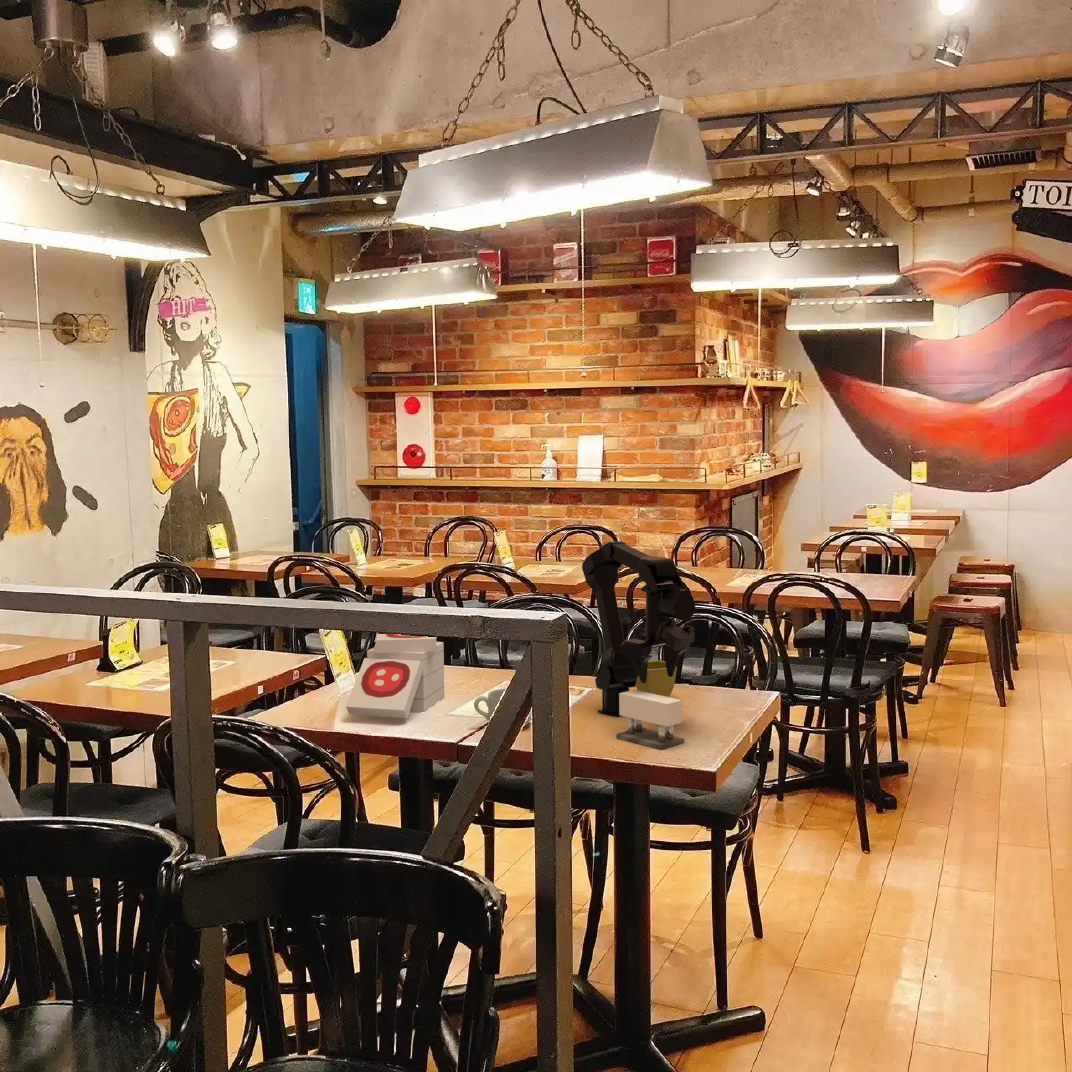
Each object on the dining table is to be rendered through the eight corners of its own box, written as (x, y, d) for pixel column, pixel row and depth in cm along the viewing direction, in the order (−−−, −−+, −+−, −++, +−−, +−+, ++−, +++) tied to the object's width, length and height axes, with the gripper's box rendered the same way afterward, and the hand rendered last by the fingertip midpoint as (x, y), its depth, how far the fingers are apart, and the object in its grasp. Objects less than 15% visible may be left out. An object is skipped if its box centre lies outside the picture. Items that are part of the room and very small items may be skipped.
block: (681, 722, 249) (682, 700, 248) (667, 726, 245) (667, 704, 245) (633, 711, 259) (633, 689, 258) (619, 715, 255) (619, 693, 255)
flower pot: (677, 701, 288) (677, 666, 287) (647, 704, 285) (647, 669, 284) (661, 693, 296) (661, 660, 295) (631, 697, 293) (631, 662, 292)
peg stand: (616, 738, 254) (616, 716, 254) (639, 731, 260) (639, 710, 259) (661, 750, 245) (661, 727, 244) (684, 742, 250) (684, 720, 250)
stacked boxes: (339, 722, 270) (337, 647, 269) (387, 693, 299) (386, 625, 297) (413, 727, 265) (412, 651, 264) (455, 697, 294) (454, 628, 292)
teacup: (533, 720, 271) (532, 687, 270) (534, 732, 260) (534, 698, 259) (474, 721, 270) (474, 688, 269) (473, 733, 259) (473, 699, 259)
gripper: (657, 623, 247) (656, 693, 249) (711, 613, 259) (710, 679, 261) (620, 616, 255) (619, 683, 257) (674, 606, 267) (673, 671, 269)
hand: (657, 679), depth 261 cm, fingers open, 9 cm apart
